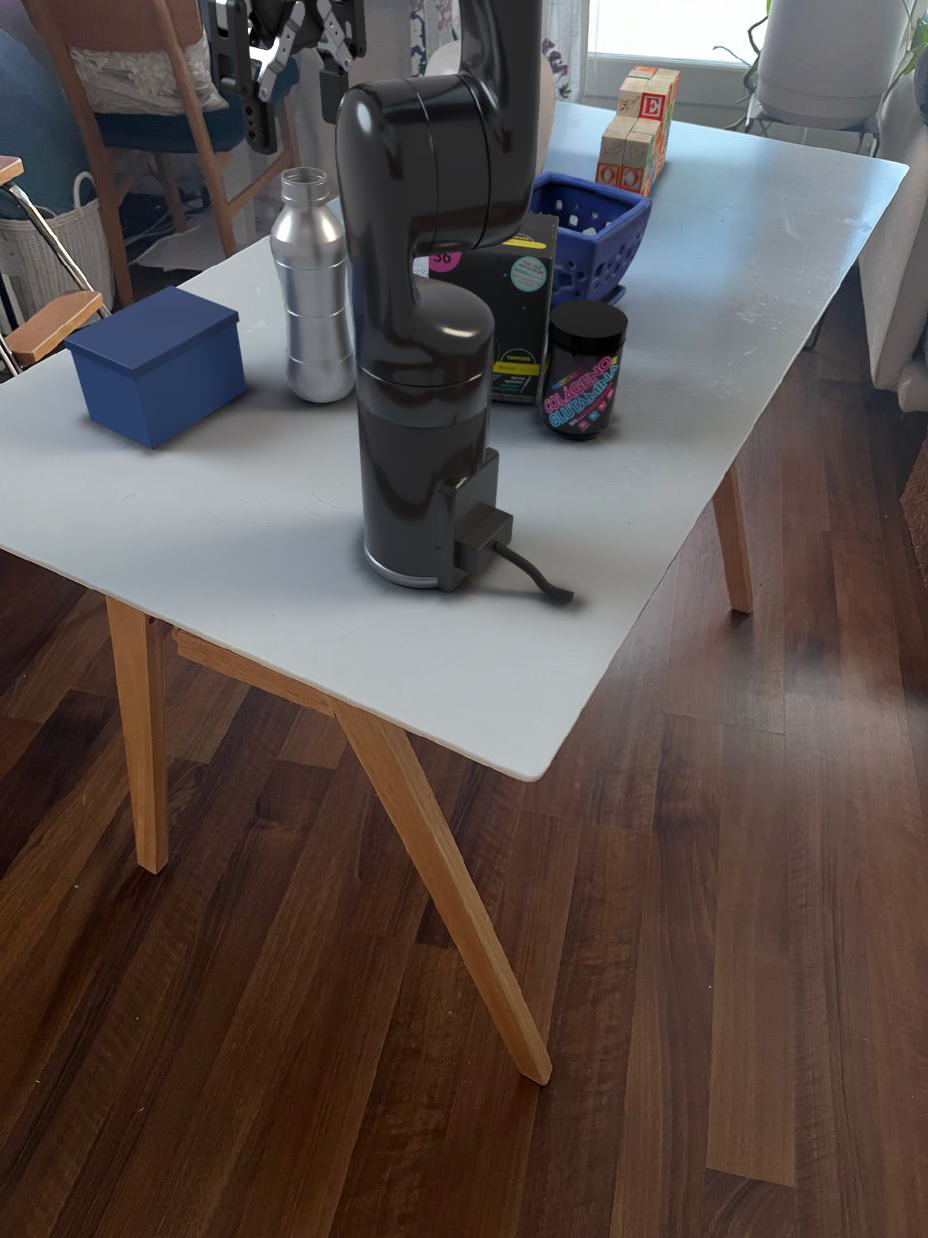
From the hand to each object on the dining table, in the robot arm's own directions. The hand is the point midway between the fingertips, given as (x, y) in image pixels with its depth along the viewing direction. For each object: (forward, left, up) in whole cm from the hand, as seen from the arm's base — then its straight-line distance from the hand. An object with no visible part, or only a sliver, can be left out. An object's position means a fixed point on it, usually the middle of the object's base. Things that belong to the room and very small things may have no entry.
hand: (301, 136), depth 73 cm
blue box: (+10, +10, -23) cm, 27 cm away
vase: (+10, -44, -23) cm, 51 cm away
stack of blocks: (0, -66, -23) cm, 70 cm away
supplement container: (-22, -10, -23) cm, 33 cm away
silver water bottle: (0, 0, -23) cm, 23 cm away
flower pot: (-10, -28, -23) cm, 38 cm away
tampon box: (-11, -12, -23) cm, 28 cm away
